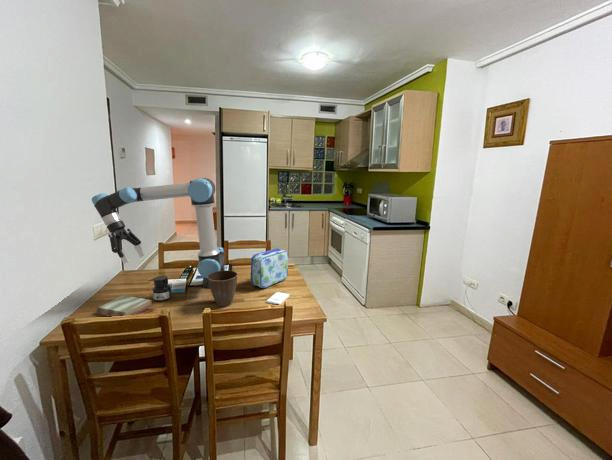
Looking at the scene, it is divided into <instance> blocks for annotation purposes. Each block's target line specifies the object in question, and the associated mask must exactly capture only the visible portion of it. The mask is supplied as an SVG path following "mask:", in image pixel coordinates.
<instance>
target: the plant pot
mask: <svg viewBox="0 0 612 460" xmlns="http://www.w3.org/2000/svg"><path fill="white" fill-rule="evenodd" d="M207 278H208V283H209V286H210V288H209V290H210V292H211V295H212V297H213V299H214V302H215V303H216V305H217V306H218V307H219V308H225V307H229V306H231V305H232V304H233V300H234V296H235V292H236V288H237V282H238V273H237V272H236V271H234V270H229V269H228V270H224V271H217V272H213V273H211V274H209V275H208V276H207Z"/></svg>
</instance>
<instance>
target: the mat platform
mask: <svg viewBox="0 0 612 460" xmlns="http://www.w3.org/2000/svg"><path fill="white" fill-rule="evenodd" d="M152 302H153V301H152V300H151V299H148V298H147V299H146V298H142V297H136V296H131V295H125V294H123V295H122V296H119V297H117V298H115V299H113V300H111V301H108V302H106V303H104V304H102V305H100V306H98V307H97V308H96V312H97V315H99V314H103V315H102V316H104V315H109V316H123V315H134V314H136V315H138V314H140V313H142V312H143V311H145V310H147V309H148V308H150V307H152V306H153V305H152ZM109 316H108V317H109Z"/></svg>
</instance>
